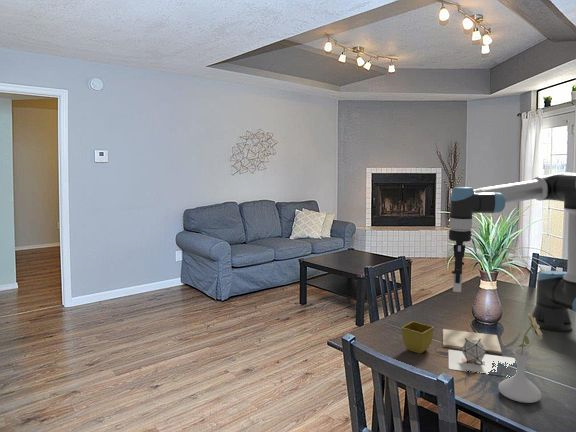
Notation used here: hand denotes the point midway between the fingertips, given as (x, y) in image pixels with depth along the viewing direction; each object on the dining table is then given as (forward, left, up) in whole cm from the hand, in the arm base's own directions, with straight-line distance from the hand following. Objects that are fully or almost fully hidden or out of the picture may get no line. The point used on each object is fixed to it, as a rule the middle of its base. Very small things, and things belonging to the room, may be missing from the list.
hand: (457, 286), depth 163 cm
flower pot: (+13, +7, -24) cm, 28 cm away
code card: (-9, +11, -23) cm, 27 cm away
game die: (-6, +11, -23) cm, 27 cm away
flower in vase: (-18, +30, -24) cm, 42 cm away
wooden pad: (-6, -7, -23) cm, 25 cm away
